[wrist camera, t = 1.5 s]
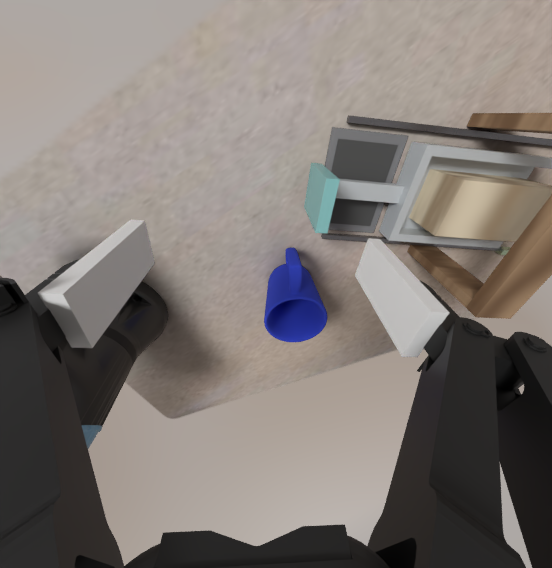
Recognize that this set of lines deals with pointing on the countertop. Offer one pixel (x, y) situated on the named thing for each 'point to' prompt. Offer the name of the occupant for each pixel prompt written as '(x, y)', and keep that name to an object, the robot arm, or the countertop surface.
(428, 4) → the countertop surface
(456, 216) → the bar
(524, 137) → the track
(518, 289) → the tunnel
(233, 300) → the countertop surface
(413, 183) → the sled
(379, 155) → the pad
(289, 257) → the mug
